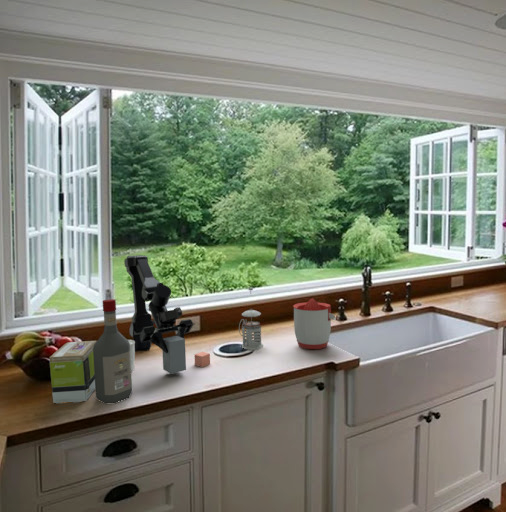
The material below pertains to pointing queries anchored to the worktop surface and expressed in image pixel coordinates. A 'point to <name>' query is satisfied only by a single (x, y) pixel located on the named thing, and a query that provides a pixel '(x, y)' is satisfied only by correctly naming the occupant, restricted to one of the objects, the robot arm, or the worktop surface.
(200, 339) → the worktop surface
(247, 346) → the french press
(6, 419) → the worktop surface
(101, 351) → the liquor
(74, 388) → the tea box
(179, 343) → the grey tall block
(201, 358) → the red block
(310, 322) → the citrus juicer
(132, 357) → the white cup
